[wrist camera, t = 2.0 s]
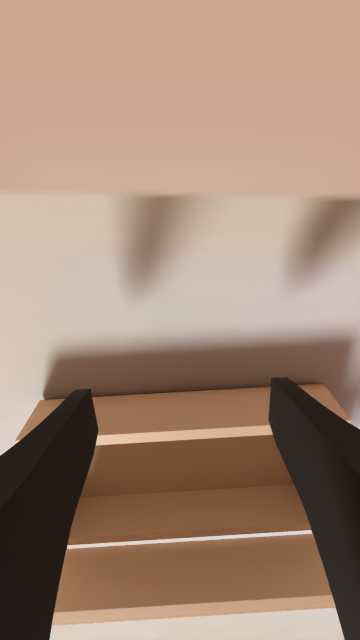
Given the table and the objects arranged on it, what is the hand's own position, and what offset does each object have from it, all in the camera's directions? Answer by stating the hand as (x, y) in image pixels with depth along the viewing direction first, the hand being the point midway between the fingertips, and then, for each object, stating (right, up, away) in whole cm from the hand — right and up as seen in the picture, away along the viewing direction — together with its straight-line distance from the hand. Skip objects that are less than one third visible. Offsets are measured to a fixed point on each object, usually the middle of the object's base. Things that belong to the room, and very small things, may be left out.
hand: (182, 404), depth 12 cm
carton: (0, -4, +7) cm, 8 cm away
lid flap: (+1, -9, +3) cm, 10 cm away
